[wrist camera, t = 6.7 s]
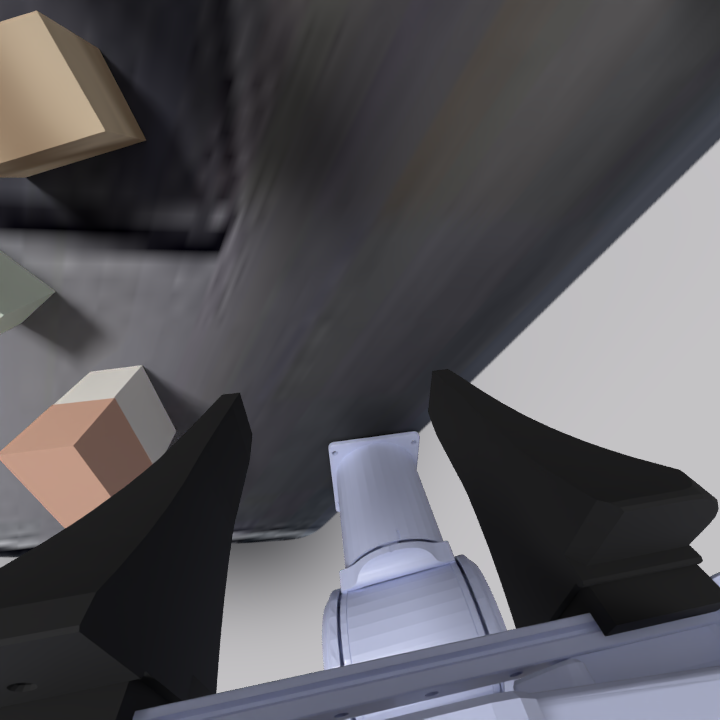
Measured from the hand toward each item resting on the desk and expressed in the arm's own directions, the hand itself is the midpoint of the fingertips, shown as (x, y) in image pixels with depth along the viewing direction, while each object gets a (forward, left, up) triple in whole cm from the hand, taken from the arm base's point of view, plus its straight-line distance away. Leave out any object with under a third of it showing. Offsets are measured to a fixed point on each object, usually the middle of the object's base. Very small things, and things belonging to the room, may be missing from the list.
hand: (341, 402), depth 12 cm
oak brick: (+10, +11, -10) cm, 18 cm away
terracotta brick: (-6, +14, -6) cm, 16 cm away
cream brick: (-6, +14, -10) cm, 18 cm away
